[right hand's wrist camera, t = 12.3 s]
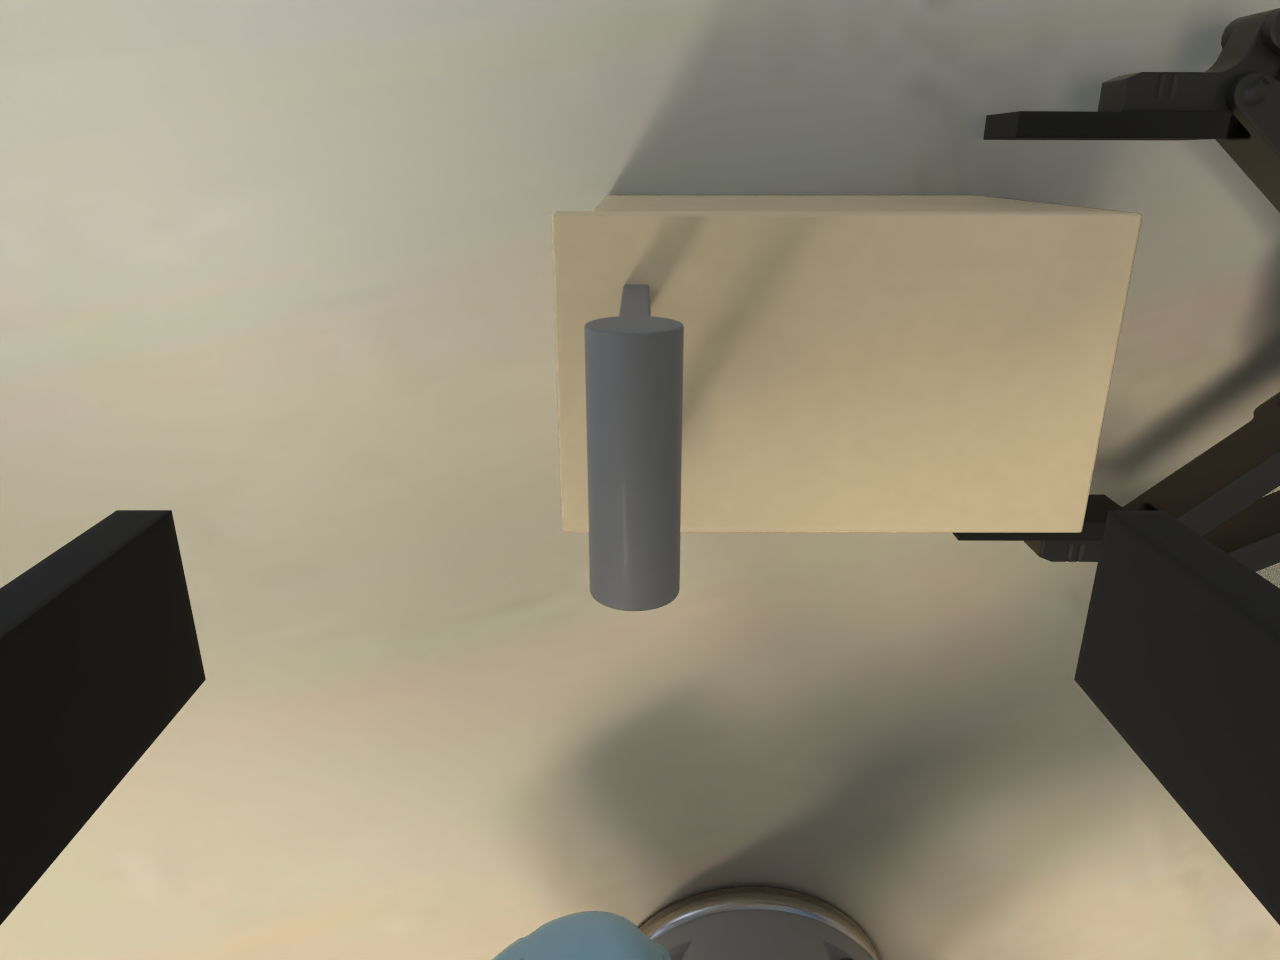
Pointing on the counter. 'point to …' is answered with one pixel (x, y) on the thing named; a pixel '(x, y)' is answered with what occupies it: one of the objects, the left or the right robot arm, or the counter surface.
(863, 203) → the chest
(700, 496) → the lid
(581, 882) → the counter surface
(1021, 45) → the counter surface
